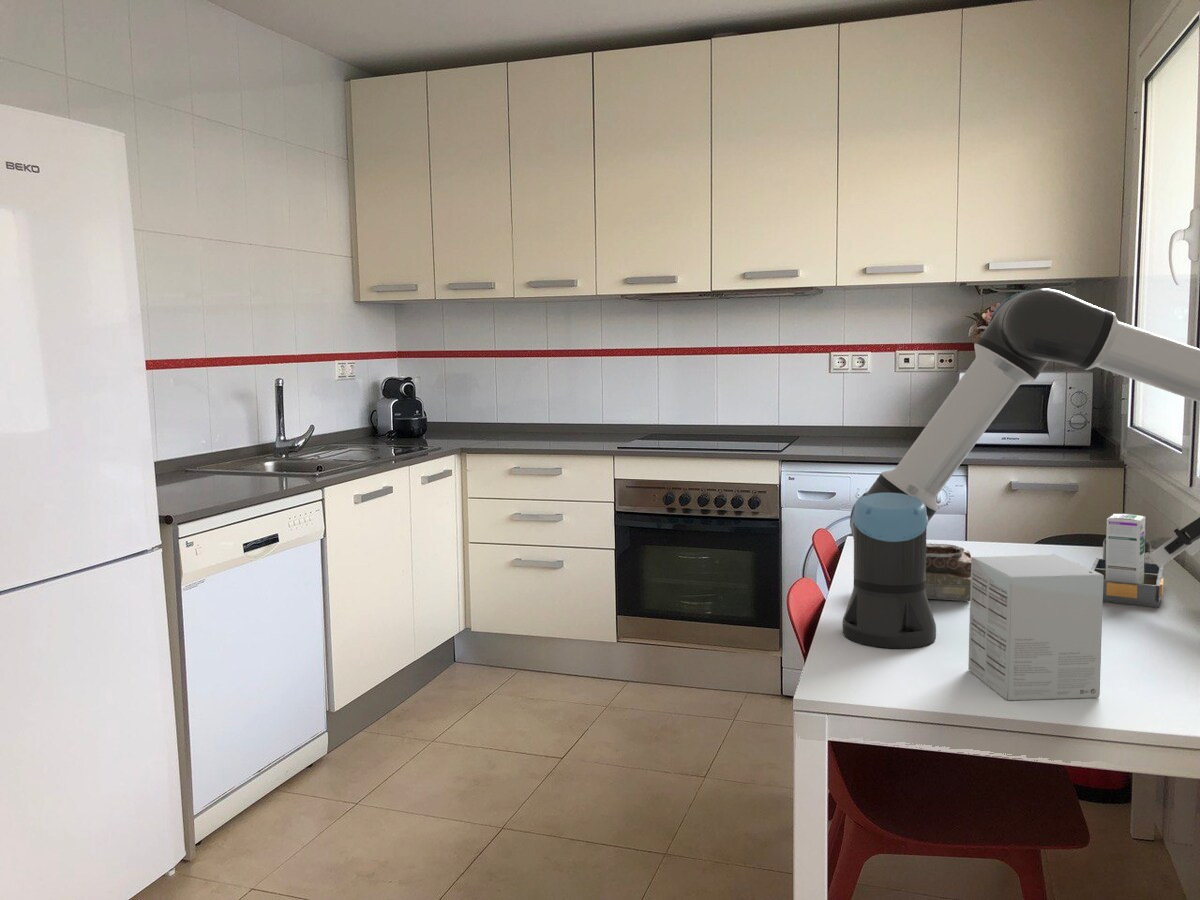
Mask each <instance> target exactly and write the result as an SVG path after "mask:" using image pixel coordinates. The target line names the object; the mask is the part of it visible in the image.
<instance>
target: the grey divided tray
mask: <svg viewBox="0 0 1200 900" xmlns="http://www.w3.org/2000/svg"><path fill="white" fill-rule="evenodd" d="M1164 566H1165V564H1164V565H1163V566H1162V567H1158V565H1157V564H1156V563H1155V562H1154V563H1152V562H1151V563H1145V566H1144V584H1138V583H1128V582H1119V581H1109V580H1105V574H1106V559H1103V558H1097V557H1096V558H1095V560H1094V562H1093V564H1092V566H1091V568H1090V569H1091V570H1093V571H1096V572H1098V573H1100V574H1102V575H1104V580H1103V603H1104V602H1105V603H1113V604H1120V605H1121V604H1122V605H1130V606H1131V605H1132V606H1139V607H1147V608H1148V607H1150V608H1159V607H1160V602H1161V598H1163V594H1164V581H1165V580H1164Z"/></svg>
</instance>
